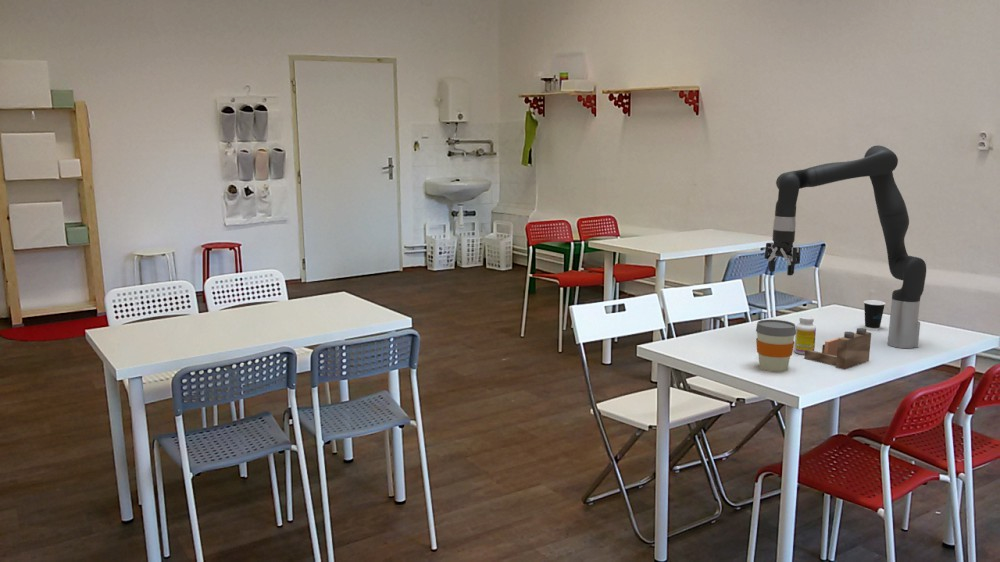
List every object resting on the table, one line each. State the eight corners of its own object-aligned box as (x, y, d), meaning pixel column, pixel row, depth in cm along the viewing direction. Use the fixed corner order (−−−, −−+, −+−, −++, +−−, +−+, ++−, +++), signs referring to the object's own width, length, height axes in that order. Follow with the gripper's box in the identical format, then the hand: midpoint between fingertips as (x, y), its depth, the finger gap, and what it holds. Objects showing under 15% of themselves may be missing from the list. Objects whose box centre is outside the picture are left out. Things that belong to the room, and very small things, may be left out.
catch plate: (823, 358, 277) (825, 341, 276) (837, 354, 282) (838, 337, 281) (827, 359, 276) (828, 342, 275) (840, 354, 281) (842, 338, 280)
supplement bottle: (815, 355, 283) (818, 320, 281) (796, 355, 285) (798, 319, 282) (812, 350, 290) (814, 315, 288) (792, 349, 291) (795, 315, 289)
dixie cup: (865, 325, 328) (867, 299, 326) (886, 329, 322) (888, 302, 320) (858, 329, 322) (860, 302, 320) (879, 332, 317) (881, 305, 315)
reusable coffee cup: (759, 372, 263) (762, 328, 261) (749, 362, 276) (752, 319, 273) (798, 373, 263) (801, 328, 260) (786, 362, 275) (789, 319, 272)
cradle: (801, 359, 279) (804, 326, 277) (826, 351, 289) (829, 319, 287) (844, 369, 267) (847, 335, 265) (868, 361, 277) (871, 328, 275)
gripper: (761, 227, 295) (758, 271, 298) (792, 231, 282) (788, 277, 285) (776, 226, 298) (773, 269, 301) (807, 230, 286) (803, 275, 289)
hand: (780, 273), depth 293 cm, fingers open, 8 cm apart
